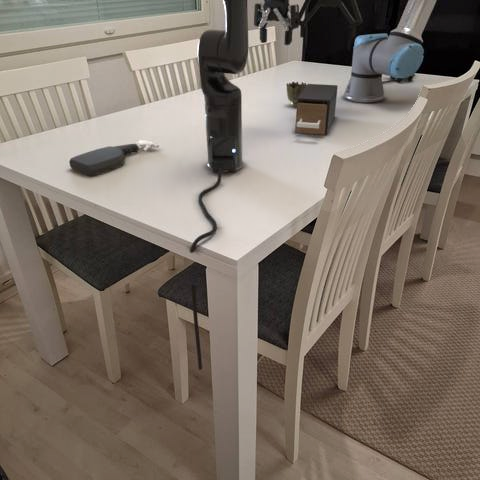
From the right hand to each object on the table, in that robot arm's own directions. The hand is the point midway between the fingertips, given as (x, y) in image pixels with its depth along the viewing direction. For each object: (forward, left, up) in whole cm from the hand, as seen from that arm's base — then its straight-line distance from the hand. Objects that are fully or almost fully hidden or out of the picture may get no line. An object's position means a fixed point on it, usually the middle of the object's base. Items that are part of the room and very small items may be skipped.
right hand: (326, 49), depth 141 cm
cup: (-10, -16, -23) cm, 29 cm away
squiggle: (-72, +3, -23) cm, 76 cm away
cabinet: (+5, +1, -23) cm, 23 cm away
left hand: (+17, -8, +3) cm, 19 cm away
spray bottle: (+63, -31, -23) cm, 74 cm away
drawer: (+11, +3, -22) cm, 24 cm away
